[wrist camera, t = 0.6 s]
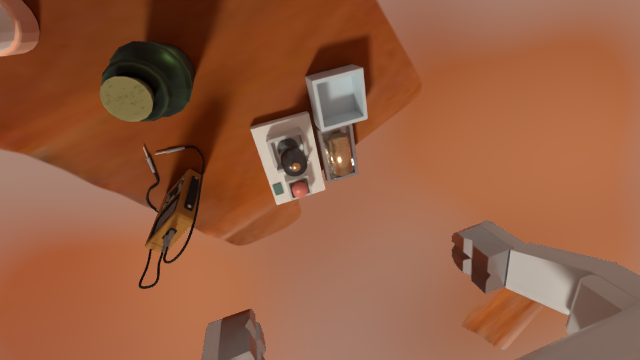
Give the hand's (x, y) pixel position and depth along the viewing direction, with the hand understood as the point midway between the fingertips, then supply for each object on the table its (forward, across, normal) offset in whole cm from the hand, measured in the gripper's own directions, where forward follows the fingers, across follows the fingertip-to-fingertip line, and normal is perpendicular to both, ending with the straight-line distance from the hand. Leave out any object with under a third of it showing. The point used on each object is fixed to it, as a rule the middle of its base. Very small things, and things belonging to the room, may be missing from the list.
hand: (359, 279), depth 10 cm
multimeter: (+40, +20, +5) cm, 45 cm away
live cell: (+39, -10, +10) cm, 42 cm away
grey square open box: (+39, -11, 0) cm, 40 cm away
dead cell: (+38, -1, +6) cm, 38 cm away
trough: (+40, -10, +10) cm, 42 cm away
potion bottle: (+38, +12, -10) cm, 41 cm away
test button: (+38, -1, +14) cm, 40 cm away
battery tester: (+40, -1, +9) cm, 41 cm away
